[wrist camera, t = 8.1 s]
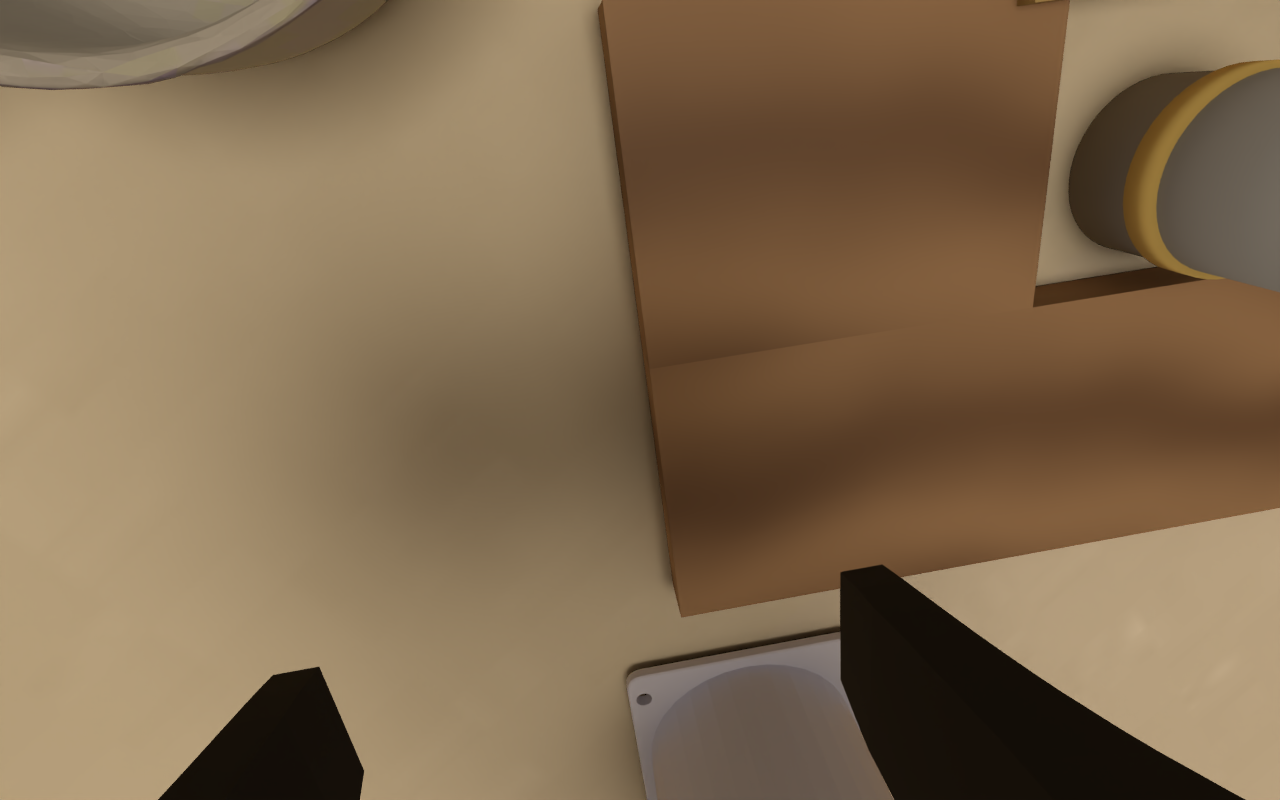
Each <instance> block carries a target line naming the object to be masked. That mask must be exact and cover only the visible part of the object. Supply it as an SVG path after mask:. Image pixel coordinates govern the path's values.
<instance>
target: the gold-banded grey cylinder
mask: <svg viewBox="0 0 1280 800" xmlns="http://www.w3.org/2000/svg"><path fill="white" fill-rule="evenodd" d="M1069 202H1070V207H1071V211H1072V214H1073V216H1074V219H1075V221H1076V223H1077V225H1078V226H1079V228H1080V229H1081V230H1082V232H1083V233H1084V234H1085V235H1086V236H1087V237H1089V238H1090V239H1091V240H1092V241H1094V242H1096V243H1098V244H1099V245H1102V246H1105V247H1108V248H1111V249H1115V250H1119V251H1123V252H1127V253H1130V254H1134V255H1138V256H1142V257H1144V258H1146V259H1147V260H1148V261H1149V262H1151V263H1153V264H1154V265H1156V266H1158V267H1161V268H1164V269H1167V270H1170V271H1174V272H1177V273H1181V274H1185V275H1188V276H1192V277H1196V278H1202V279H1230V280H1234V281H1238V282H1242V283H1246V284H1249V285H1253V286H1257V287H1261V288H1265V289H1269V290H1272V291H1276V292H1280V60H1266V61H1252V62H1243V63H1237V64H1233V65H1229V66H1226V67H1223V68H1221V69H1218V70H1216V71H1202V72H1183V73H1169V74H1161V75H1157V76H1153V77H1150V78H1147V79H1145V80H1142V81H1140V82H1138V83H1136V84H1134V85H1132V86H1131V87H1129V88H1127V89H1126V90H1125V91H1123V92H1122V93H1120V94H1119V95H1118V96H1116V97H1115V98H1114V99H1113V100H1112V101H1111V102H1109V103H1108V104H1107V105H1106V106H1105V108H1104V109H1103V110H1102V111H1101V112H1100V113H1099V114H1098V115H1097V117H1096V118H1095V119H1094V120H1093V122H1092V123H1091V125H1090V126H1089V128H1088V129H1087V131H1086V132H1085V134H1084V136H1083V138H1082V140H1081V142H1080V144H1079V146H1078V148H1077V151H1076V154H1075V156H1074V159H1073V163H1072V167H1071V171H1070V177H1069Z"/></svg>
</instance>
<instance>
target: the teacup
mask: <svg viewBox="0 0 1280 800" xmlns="http://www.w3.org/2000/svg"><path fill="white" fill-rule="evenodd" d="M386 1H387V0H0V86H2V87H14V88H30V89H46V90H62V89H90V88H103V87H116V86H129V85H142V84H150V83H154V82H158V81H163V80H167V79H171V78H175V77H178V76H181V75H197V74H209V73H219V72H229V71H235V70H240V69H246V68H251V67H257V66H262V65H267V64H273V63H276V62H279V61H283V60H286V59H289V58H292V57H296V56H299V55H302V54H305V53H307V52H309V51H311V50H313V49H315V48H318V47H320V46H322V45H324V44H326V43H328V42H330V41H333V40H335V39H337V38H338V37H340V36H342V35H343V34H345V33H346V32H348V31H350V30H351V29H353V28H354V27H356V26H357V25H359V24H360V23H361V22H363V21H364V20H365V19H367V18H368V17H369V16H371V15H372V14H373V13H374V12H375V11H377V10H378V9H379V8H380V7H381V6H382V5H383V4H384V3H385V2H386Z"/></svg>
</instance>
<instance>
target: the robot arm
mask: <svg viewBox="0 0 1280 800" xmlns="http://www.w3.org/2000/svg"><path fill="white" fill-rule="evenodd" d="M626 684H627V692H628V697H629V703H630V708H631V714H632V719H633V725H634V730H635V736H636V741H637V747H638V752H639V758H640V763H641V769H642V775H643V780H644V786H645V791H646V797H647V800H893V798H894V800H1245V799H1243V798H1241V797H1239V796H1238V795H1236V794H1234V793H1232V792H1230V791H1228V790H1227V789H1225V788H1223V787H1221V786H1219V785H1218V784H1216V783H1214V782H1212V781H1210V780H1209V779H1207V778H1205V777H1203V776H1201V775H1200V774H1198V773H1196V772H1194V771H1193V770H1191V769H1189V768H1187V767H1185V766H1184V765H1182V764H1180V763H1178V762H1176V761H1175V760H1173V759H1171V758H1169V757H1167V756H1166V755H1164V754H1162V753H1160V752H1158V751H1157V750H1155V749H1153V748H1152V747H1150V746H1148V745H1147V744H1145V743H1143V742H1142V741H1140V740H1138V739H1136V738H1135V737H1133V736H1131V735H1130V734H1128V733H1126V732H1125V731H1123V730H1121V729H1120V728H1118V727H1116V726H1115V725H1113V724H1112V723H1110V722H1109V721H1107V720H1105V719H1104V718H1102V717H1101V716H1099V715H1097V714H1096V713H1094V712H1093V711H1091V710H1089V709H1088V708H1086V707H1085V706H1083V705H1082V704H1080V703H1078V702H1077V701H1075V700H1074V699H1072V698H1070V697H1069V696H1067V695H1066V694H1064V693H1062V692H1061V691H1059V690H1058V689H1056V688H1055V687H1053V686H1052V685H1050V684H1049V683H1047V682H1046V681H1044V680H1043V679H1041V678H1040V677H1038V676H1037V675H1035V674H1034V673H1032V672H1031V671H1029V670H1028V669H1026V668H1025V667H1024V666H1022V665H1021V664H1019V663H1018V662H1016V661H1015V660H1013V659H1012V658H1011V657H1009V656H1008V655H1006V654H1005V653H1003V652H1002V651H1001V650H999V649H998V648H996V647H995V646H993V645H992V644H990V643H989V642H988V641H986V640H985V639H983V638H982V637H981V636H979V635H978V634H976V633H975V632H974V631H972V630H971V629H970V628H968V627H967V626H965V625H964V624H963V623H961V622H960V621H959V620H957V619H956V618H954V617H953V616H952V615H950V614H949V613H948V612H946V611H945V610H944V609H942V608H941V607H940V606H938V605H937V604H935V603H934V602H933V601H931V600H930V599H929V598H927V597H926V596H925V595H923V594H922V593H921V592H919V591H918V590H917V589H915V588H914V587H913V586H911V585H910V584H909V583H907V582H906V581H904V580H903V579H902V578H900V577H899V576H898V575H896V574H895V573H894V572H892V571H891V570H890V569H888V568H887V567H885V566H884V565H883V564H881V565H876V566H870V567H865V568H859V569H854V570H848V571H843V572H840V632H836V633H830V634H825V635H820V636H814V637H809V638H804V639H798V640H793V641H788V642H782V643H777V644H772V645H766V646H761V647H756V648H750V649H745V650H740V651H734V652H729V653H724V654H718V655H713V656H707V657H702V658H697V659H691V660H686V661H681V662H675V663H670V664H665V665H659V666H654V667H649V668H643V669H639V670H636V671H633V672H632V673H631V674H629V676H628V677H627V681H626ZM641 694H647V695H645V696H639V695H641ZM860 730H861V732H860ZM861 733H862V735H863V737H862V735H861ZM863 738H864V739H863ZM864 740H865V741H864ZM865 742H866V743H865ZM363 775H364V770H363V767H362V765H361V763H360V760H359V758H358V756H357V753H356V751H355V749H354V746H353V744H352V742H351V740H350V737H349V735H348V733H347V730H346V728H345V726H344V723H343V721H342V719H341V716H340V714H339V712H338V709H337V707H336V705H335V702H334V700H333V698H332V695H331V693H330V691H329V688H328V686H327V684H326V682H325V679H324V677H323V675H322V672H321V670H320V668H319V667H315V668H310V669H304V670H299V671H293V672H288V673H282V674H277V675H273V676H272V677H271V678H270V679H269V680H268V681H267V682H266V683H265V684H264V685H263V686H262V687H261V688H260V689H259V690H258V691H257V692H256V693H255V694H254V695H253V696H252V698H251V699H250V700H249V701H248V702H247V703H246V704H245V705H244V706H243V707H242V708H241V709H240V711H239V712H238V713H237V714H236V715H235V716H234V717H233V718H232V719H231V720H230V722H229V723H228V724H227V725H226V726H225V727H224V728H223V729H222V730H221V731H220V733H219V734H218V735H217V736H216V737H215V738H214V739H213V740H212V741H211V743H210V744H209V745H208V746H207V747H206V748H205V749H204V750H203V751H202V752H201V754H200V755H199V756H198V757H197V758H196V759H195V760H194V761H193V762H192V763H191V765H190V766H189V767H188V768H187V769H186V770H185V771H184V772H183V773H182V774H181V775H180V777H179V778H178V779H177V780H176V781H175V782H174V783H173V784H172V785H171V786H170V787H169V788H168V790H167V791H166V792H165V793H164V794H163V795H162V796H161V797H160V798H159V799H158V800H360V795H361V788H362V781H363ZM886 784H887V785H886ZM887 786H888V787H887ZM888 788H889V789H888ZM889 790H890V791H889ZM890 792H891V794H892V796H893V798H892V796H891V794H890Z"/></svg>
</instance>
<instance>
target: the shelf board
mask: <svg viewBox="0 0 1280 800" xmlns="http://www.w3.org/2000/svg"><path fill="white" fill-rule="evenodd" d="M1069 3H1070V0H602V2H601V4H600V6H599V8H598V15H599V22H600V30H601V38H602V45H603V53H604V61H605V68H606V76H607V84H608V91H609V99H610V106H611V114H612V122H613V129H614V137H615V145H616V152H617V160H618V168H619V175H620V183H621V190H622V198H623V206H624V213H625V221H626V229H627V236H628V244H629V252H630V259H631V267H632V274H633V282H634V290H635V297H636V305H637V313H638V320H639V328H640V336H641V343H642V351H643V358H644V366H645V374H646V381H647V389H648V397H649V404H650V412H651V420H652V427H653V435H654V442H655V450H656V458H657V465H658V473H659V481H660V488H661V496H662V504H663V511H664V519H665V526H666V534H667V542H668V549H669V557H670V565H671V572H672V580H673V586H674V590H675V594H676V598H677V602H678V606H679V610H680V614H681V617H686V616H692V615H697V614H703V613H708V612H714V611H719V610H725V609H730V608H735V607H741V606H746V605H752V604H757V603H763V602H768V601H774V600H779V599H785V598H790V597H795V596H801V595H806V594H812V593H817V592H823V591H828V590H834V589H839V588H840V572H843V571H848V570H854V569H859V568H865V567H870V566H876V565H881V564H883V565H884V566H885V567H887V568H888V569H890V570H891V571H892V572H894V573H895V574H896V575H898V576H899V577H904V576H910V575H915V574H921V573H926V572H932V571H937V570H943V569H948V568H954V567H959V566H964V565H970V564H975V563H981V562H986V561H992V560H997V559H1003V558H1008V557H1014V556H1019V555H1024V554H1030V553H1035V552H1041V551H1046V550H1052V549H1057V548H1063V547H1068V546H1074V545H1079V544H1084V543H1090V542H1095V541H1101V540H1106V539H1112V538H1117V537H1123V536H1128V535H1134V534H1139V533H1144V532H1150V531H1155V530H1161V529H1166V528H1172V527H1177V526H1183V525H1188V524H1194V523H1199V522H1204V521H1210V520H1215V519H1221V518H1226V517H1232V516H1237V515H1243V514H1248V513H1253V512H1259V511H1264V510H1270V509H1275V508H1280V292H1276V291H1272V290H1269V289H1265V288H1261V287H1257V286H1253V285H1249V284H1246V283H1242V282H1238V281H1234V280H1230V279H1202V278H1196V277H1192V276H1188V275H1185V274H1181V273H1177V272H1174V271H1170V270H1167V269H1164V268H1161V267H1156V268H1149V269H1143V270H1137V271H1131V272H1124V273H1118V274H1112V275H1106V276H1099V277H1093V278H1087V279H1080V280H1074V281H1068V282H1062V283H1055V284H1049V285H1043V286H1036V287H1035V284H1036V276H1037V268H1038V260H1039V251H1040V243H1041V235H1042V226H1043V218H1044V210H1045V202H1046V193H1047V185H1048V177H1049V168H1050V160H1051V152H1052V143H1053V135H1054V127H1055V119H1056V110H1057V102H1058V94H1059V85H1060V77H1061V69H1062V61H1063V52H1064V44H1065V36H1066V27H1067V19H1068V11H1069Z"/></svg>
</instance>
